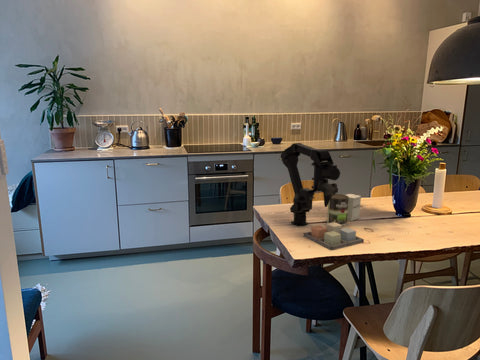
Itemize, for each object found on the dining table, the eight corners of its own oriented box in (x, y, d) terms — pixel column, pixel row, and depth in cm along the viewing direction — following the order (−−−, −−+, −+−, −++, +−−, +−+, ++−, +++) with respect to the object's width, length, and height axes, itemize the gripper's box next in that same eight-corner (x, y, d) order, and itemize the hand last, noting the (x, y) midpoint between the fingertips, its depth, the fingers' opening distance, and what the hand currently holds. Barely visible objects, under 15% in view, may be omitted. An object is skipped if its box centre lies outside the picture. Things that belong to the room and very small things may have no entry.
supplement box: (351, 221, 202) (353, 198, 199) (339, 218, 208) (341, 195, 205) (359, 218, 207) (361, 195, 204) (348, 215, 212) (349, 193, 209)
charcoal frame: (303, 236, 181) (303, 226, 180) (334, 229, 190) (334, 219, 189) (331, 250, 165) (331, 239, 163) (363, 242, 173) (364, 231, 172)
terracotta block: (311, 237, 180) (311, 227, 179) (319, 235, 182) (319, 225, 181) (318, 240, 176) (318, 230, 175) (326, 238, 178) (327, 228, 177)
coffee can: (351, 224, 197) (352, 198, 194) (333, 226, 194) (334, 199, 191) (340, 218, 206) (342, 193, 203) (323, 220, 204) (324, 194, 200)
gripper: (315, 181, 169) (313, 215, 173) (347, 177, 178) (345, 210, 181) (299, 176, 179) (298, 209, 182) (330, 173, 187) (329, 204, 191)
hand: (318, 208), depth 184 cm, fingers open, 9 cm apart
